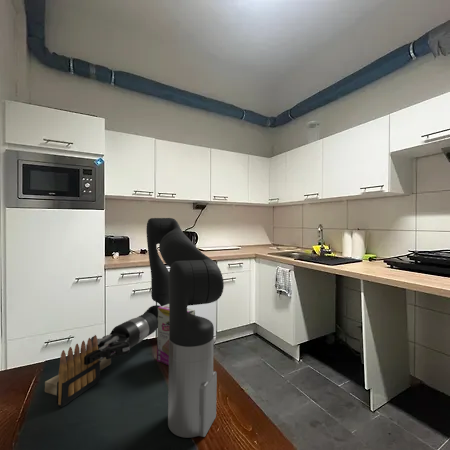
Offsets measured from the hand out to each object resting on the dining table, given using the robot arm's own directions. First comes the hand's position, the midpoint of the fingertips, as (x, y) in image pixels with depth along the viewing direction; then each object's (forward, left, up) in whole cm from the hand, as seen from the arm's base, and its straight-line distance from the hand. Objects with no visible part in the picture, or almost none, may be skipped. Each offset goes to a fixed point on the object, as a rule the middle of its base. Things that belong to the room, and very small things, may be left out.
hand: (82, 360), depth 62 cm
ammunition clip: (0, 0, -8) cm, 8 cm away
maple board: (+6, -5, -8) cm, 11 cm away
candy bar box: (-14, -20, -8) cm, 26 cm away
